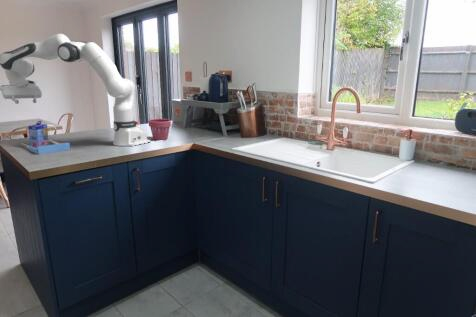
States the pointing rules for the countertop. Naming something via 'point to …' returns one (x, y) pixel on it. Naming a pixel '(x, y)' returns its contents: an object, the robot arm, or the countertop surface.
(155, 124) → the plant pot
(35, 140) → the ink cartridge box
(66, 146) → the light blue tray
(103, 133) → the countertop surface
